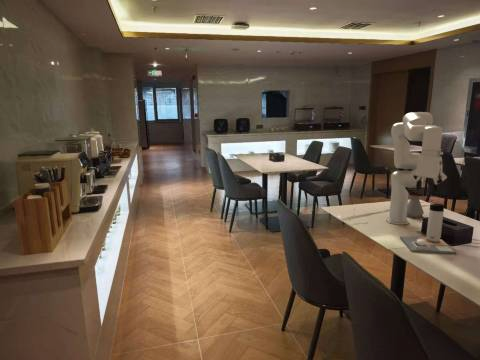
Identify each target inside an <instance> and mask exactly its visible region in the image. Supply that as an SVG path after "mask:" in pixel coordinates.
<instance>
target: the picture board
mask: <svg viewBox="0 0 480 360" xmlns="http://www.w3.org/2000/svg"><path fill="white" fill-rule="evenodd" d="M399 239H400V240H401V242H403V244H404V245H405V246H406V247H407V248H408V249H409V251H410V252H412V253H427V254H428V253H429V254H446V255H447V254H449V255H450V254H452V255H453V254H454V255H456V254H457V251H456V250H455V249H454V248H452V246H450V245H449V244H448V243H447V242H445V241H444V240H443V239H442V238H441V239H440V242H439V243H431V242H428V241H427V240H426V236H399ZM417 239H423V240H426V245H425V246H420V245H417V244H416V243H417Z"/></svg>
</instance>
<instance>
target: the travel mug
mask: <svg viewBox="0 0 480 360" xmlns="http://www.w3.org/2000/svg"><path fill="white" fill-rule="evenodd" d="M444 209H445V204H443V203H430V204H429V211H428V219H427V220H428V221H427V228H426V236H425V237H426V240H427V241H428V242H431V243H439V242H440V238H441V237H442V230H443V229H442V228H443V219H444V211H445V210H444ZM441 239H442V238H441Z"/></svg>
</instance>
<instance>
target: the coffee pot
mask: <svg viewBox="0 0 480 360" xmlns="http://www.w3.org/2000/svg"><path fill="white" fill-rule="evenodd" d="M405 189H406V191H407V192H408V195H409V197H408V198H410V199H409V200H408V207H407V217H409V218H412V219H413V218H415V219H416V218H418V217H419V218H420V217H422V216H423V215H424V213H425V212H424V209H423V206H422V203H421V201H420V200H421V198H422V196H420V195H411V194H410V192H409V191H408V189H407V187H405Z"/></svg>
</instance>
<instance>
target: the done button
mask: <svg viewBox="0 0 480 360" xmlns="http://www.w3.org/2000/svg"><path fill="white" fill-rule="evenodd" d="M416 244H417V245H420V246H425V245H426V240H423V239H417V243H416Z"/></svg>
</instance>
